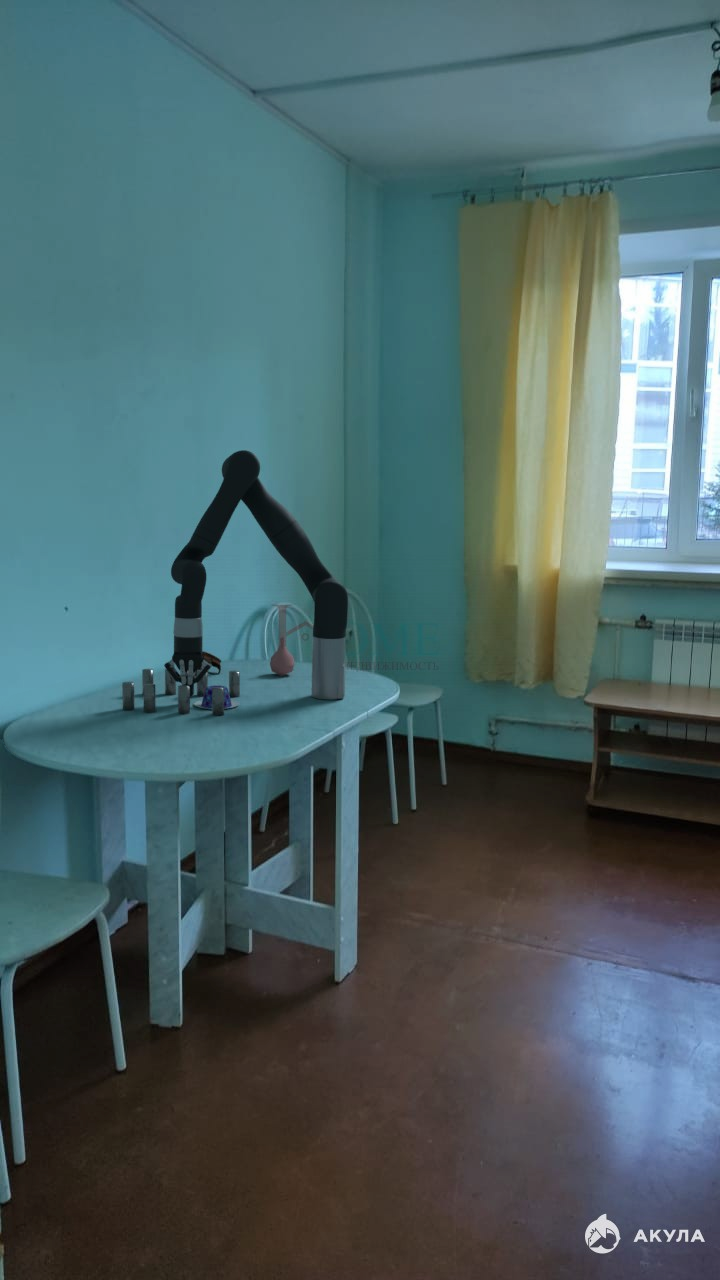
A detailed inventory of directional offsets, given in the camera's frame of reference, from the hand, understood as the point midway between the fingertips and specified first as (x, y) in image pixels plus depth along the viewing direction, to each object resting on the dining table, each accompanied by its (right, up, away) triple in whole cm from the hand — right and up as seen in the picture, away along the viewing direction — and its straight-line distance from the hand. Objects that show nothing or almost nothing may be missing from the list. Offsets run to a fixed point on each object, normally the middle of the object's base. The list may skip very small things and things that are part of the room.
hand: (188, 697), depth 249 cm
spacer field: (-2, -2, +1) cm, 2 cm away
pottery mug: (-2, +4, +39) cm, 40 cm away
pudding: (+8, -3, -1) cm, 8 cm away
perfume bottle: (+22, +4, +42) cm, 47 cm away
